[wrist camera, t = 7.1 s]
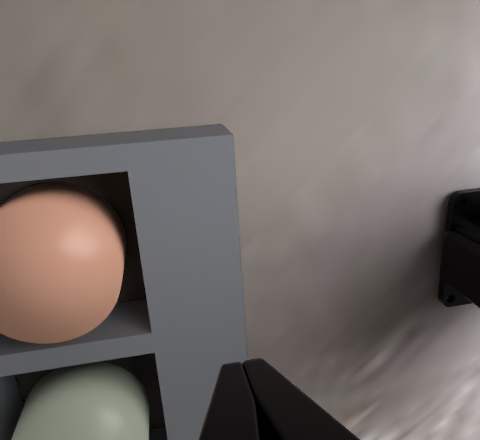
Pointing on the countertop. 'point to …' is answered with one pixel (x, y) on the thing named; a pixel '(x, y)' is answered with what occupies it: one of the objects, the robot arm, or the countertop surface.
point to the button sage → (85, 405)
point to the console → (152, 266)
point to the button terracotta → (58, 262)
